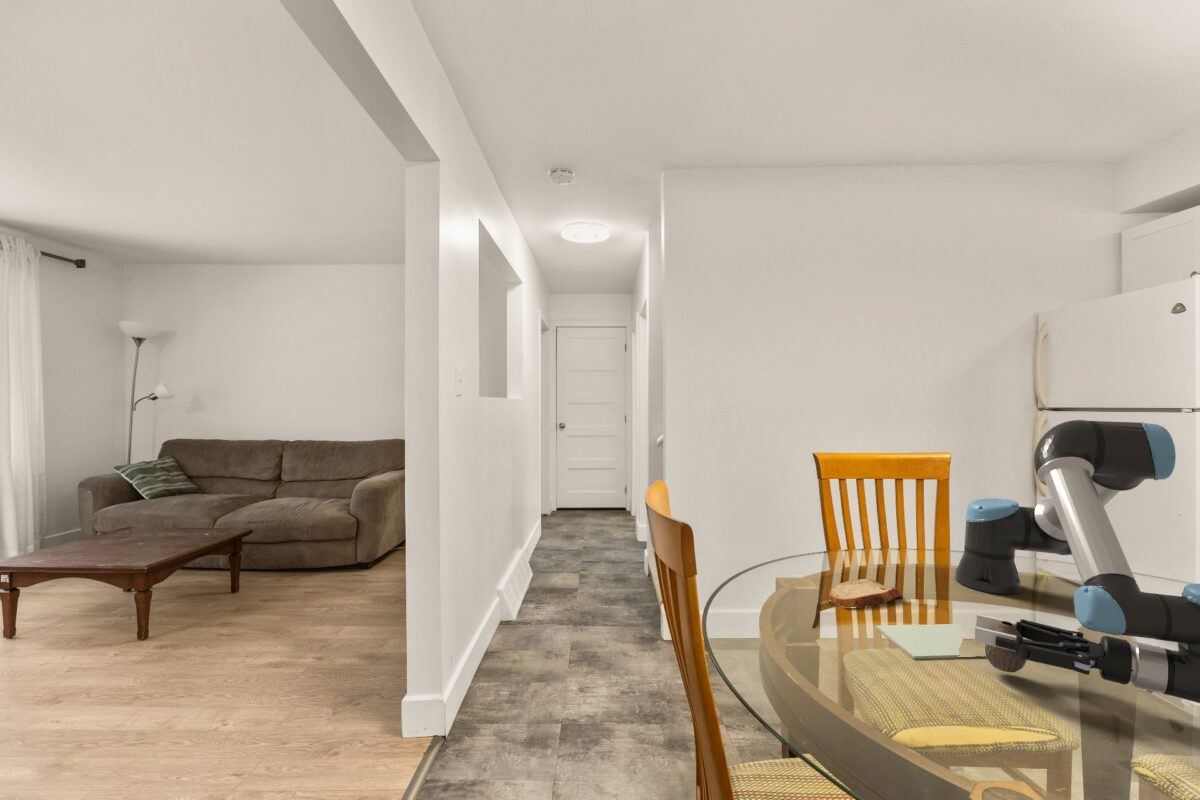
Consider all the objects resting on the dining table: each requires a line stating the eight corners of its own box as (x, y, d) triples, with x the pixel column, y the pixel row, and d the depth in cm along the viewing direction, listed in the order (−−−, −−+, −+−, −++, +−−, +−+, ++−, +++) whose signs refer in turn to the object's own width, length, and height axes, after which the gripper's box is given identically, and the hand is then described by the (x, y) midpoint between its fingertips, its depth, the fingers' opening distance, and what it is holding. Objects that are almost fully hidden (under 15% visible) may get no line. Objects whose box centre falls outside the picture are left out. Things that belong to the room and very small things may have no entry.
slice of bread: (830, 608, 147) (830, 593, 147) (823, 582, 164) (824, 569, 164) (910, 619, 142) (911, 603, 142) (895, 591, 159) (896, 577, 159)
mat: (957, 626, 138) (957, 623, 138) (1004, 656, 124) (1004, 653, 124) (875, 628, 136) (875, 625, 136) (913, 659, 122) (913, 656, 122)
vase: (974, 658, 119) (978, 615, 119) (1007, 657, 120) (1010, 615, 119) (1000, 677, 112) (1004, 631, 112) (1035, 676, 113) (1038, 631, 112)
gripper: (1137, 709, 98) (971, 665, 111) (1119, 661, 114) (976, 627, 127) (1141, 665, 97) (974, 626, 110) (1123, 623, 113) (979, 593, 126)
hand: (975, 627), depth 119 cm, fingers closed on vase, 6 cm apart
